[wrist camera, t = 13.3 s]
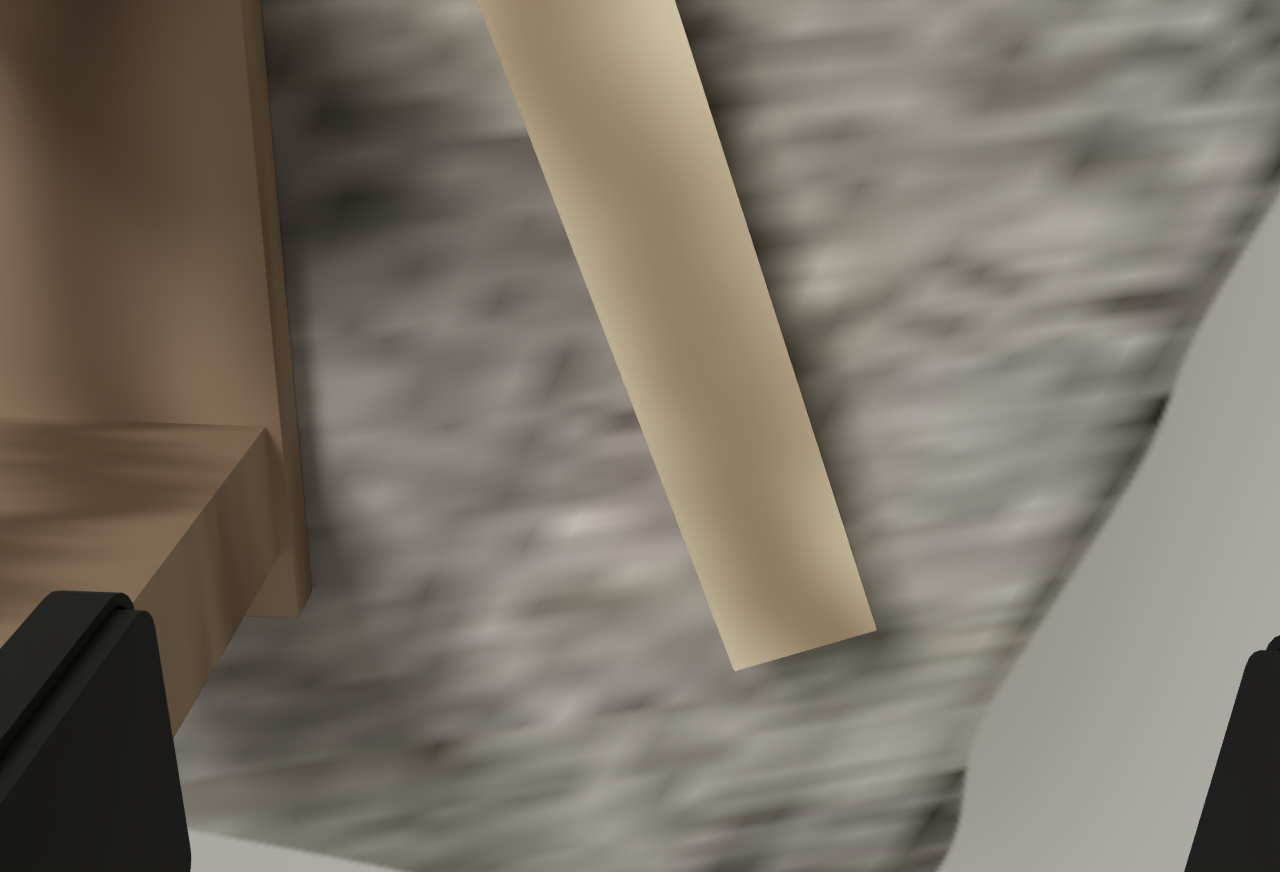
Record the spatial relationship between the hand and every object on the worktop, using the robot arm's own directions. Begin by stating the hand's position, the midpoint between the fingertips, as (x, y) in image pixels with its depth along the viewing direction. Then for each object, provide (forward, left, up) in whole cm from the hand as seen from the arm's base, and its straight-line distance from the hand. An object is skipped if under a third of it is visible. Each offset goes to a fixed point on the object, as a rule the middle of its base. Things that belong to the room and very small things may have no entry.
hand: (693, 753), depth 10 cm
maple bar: (0, 0, -23) cm, 23 cm away
